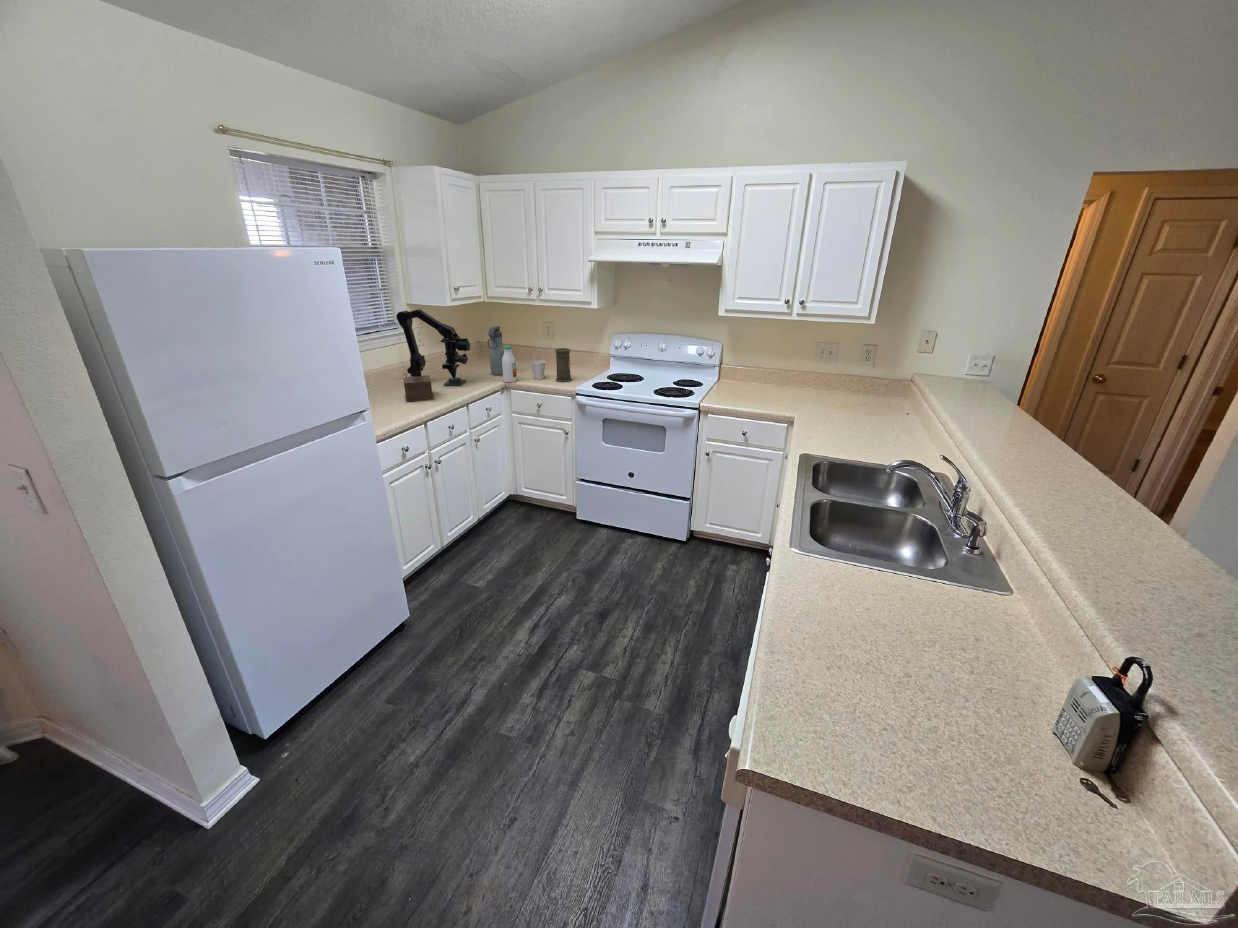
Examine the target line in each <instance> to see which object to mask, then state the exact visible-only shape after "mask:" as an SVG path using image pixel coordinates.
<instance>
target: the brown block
mask: <svg viewBox="0 0 1238 928" xmlns="http://www.w3.org/2000/svg"><path fill="white" fill-rule="evenodd" d="M403 386H404V392H405V399H406V403H413V402H423V401H425V402H426V401H433V400H434V394H433V388H432V380H431V376H430V375H429V374H427V375H422V376H415V377H411V376H403Z"/></svg>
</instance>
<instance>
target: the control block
mask: <svg viewBox="0 0 1238 928" xmlns="http://www.w3.org/2000/svg"><path fill="white" fill-rule="evenodd" d="M451 378H452V377H449V378H448V380H447V381H446V382H444V384H443V386H444V387H461V386H462V385H463V384H465V383H466V378H465V379H464V378H463V379H462V378H461V377H459V376H458V377H457V376H456V378H458V379H451Z"/></svg>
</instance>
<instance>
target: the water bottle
mask: <svg viewBox="0 0 1238 928" xmlns="http://www.w3.org/2000/svg"><path fill="white" fill-rule="evenodd" d="M487 336H488V337H489V339H487V348H489V350H488V353H489V365H490V374H491V375H493V376H503V370H502V358H503V355H504V348H503V347H504V345H503V332H502V331H501V326H499V325H497V326H495V325H494V326H492V327H489V329H488V332H487ZM490 344H491V345H490Z"/></svg>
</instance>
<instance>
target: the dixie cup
mask: <svg viewBox="0 0 1238 928" xmlns="http://www.w3.org/2000/svg"><path fill="white" fill-rule="evenodd" d="M546 362H547V361H546V360H542V359H534V360H531V362H530V363H531V366H532V373H533V377H534V379H535V380H544V379H545V371H546Z"/></svg>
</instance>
